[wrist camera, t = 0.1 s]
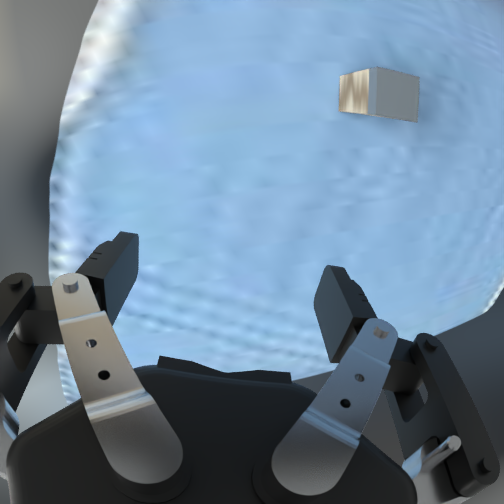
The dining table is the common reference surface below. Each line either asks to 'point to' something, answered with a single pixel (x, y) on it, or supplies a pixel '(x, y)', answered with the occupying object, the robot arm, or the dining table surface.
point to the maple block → (380, 94)
